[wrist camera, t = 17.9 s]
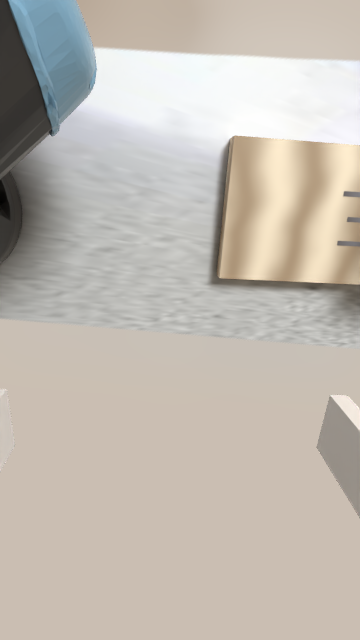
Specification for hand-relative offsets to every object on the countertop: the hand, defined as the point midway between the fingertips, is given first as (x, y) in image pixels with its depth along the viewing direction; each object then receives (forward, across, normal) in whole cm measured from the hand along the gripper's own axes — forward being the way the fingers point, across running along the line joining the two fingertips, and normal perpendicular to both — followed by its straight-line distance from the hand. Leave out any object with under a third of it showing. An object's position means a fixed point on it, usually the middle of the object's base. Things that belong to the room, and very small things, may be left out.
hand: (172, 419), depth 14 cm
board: (+27, +20, +7) cm, 34 cm away
